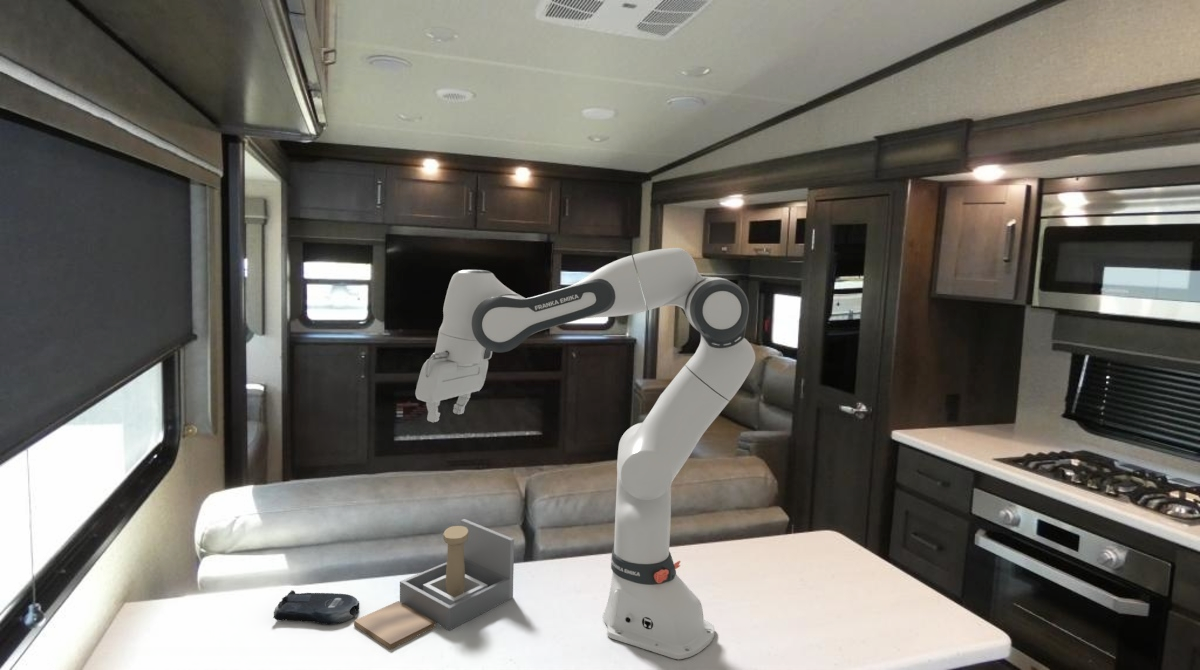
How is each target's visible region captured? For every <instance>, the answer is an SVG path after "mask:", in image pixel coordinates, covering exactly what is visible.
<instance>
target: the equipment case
mask: <svg viewBox="0 0 1200 670" xmlns="http://www.w3.org/2000/svg"><path fill="white" fill-rule="evenodd" d="M460 526H464V527H466V528H467V529H468V539H467V541H465V542H464V564H465V584H464V592H463V594H461V595H459V596H457V597H455V598H454V597H452V596H450V595H449V594H447V589H446V567H447V561H446V562H444V563H441V564H439V565H436V566H434V567H432V568H430V569H429V568H428V569H426V570H425V571H422V572H419V573H417V574H415V575H412V576H410V577H407V578H405V579H402V580H400V581H399V602H401V603H403V604H405V605H406V606H408V607H410V608H412V609H413V610H415V611H417V612H419V613H420V614H422V615H424V616H425V617H427V618H429V619H431V620H432V621H434V622H435V624H436V625H439V626H440V625H441V626H440V627H443V628H444V629H446V630H448V631H451V630H453V629H455V628H456V627H459V626H461V625H462V624H465V623H466V622H469V621H470V620H473V619H475V618H477V617H478V616H481V614H483V613H486V612H488V611H489V610H492V609H494V608H495V606H496V607H497V606H499V605H501V604H504V603H505V602H507V601H509V600H510V599H513V598H514V567H515V566H514V562H515V554H514V553H515V539H514V538H513V537H510V536H508V535H505V534H503V533H500V532H497V531H495V530H493V529H490V528H488V527H486V526H483V525H481V524H478V523H476V522H473V521H472V520H468V519H466V518H463V519H461V520H460ZM493 607H494V608H493ZM491 608H492V609H491Z"/></svg>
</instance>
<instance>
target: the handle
mask: <svg viewBox="0 0 1200 670" xmlns="http://www.w3.org/2000/svg"><path fill="white" fill-rule="evenodd" d="M442 536H443V541H444V543H445V544H447V553H446V554H447V555H446V562H447V567H446V589H447V594H449V595H450V596H452V597H454V598H455V597H457V596H459V595H461V594H463V593H464V584H465V564H464V542H465V541H467V539H468V529H467V528H466V527H464V526H461V525H452V526H449V527H448V528H446V529H445V530H444V532H443V535H442Z"/></svg>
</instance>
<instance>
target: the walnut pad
mask: <svg viewBox="0 0 1200 670" xmlns="http://www.w3.org/2000/svg"><path fill="white" fill-rule="evenodd" d="M353 623H354V624H353V625H354V626H355V627H356V628H357V629H359V630H361V632H364V633H365V634H366V635H368V636H370V637H371V638H373V639H374V640H375V641H377V642H378V643H380V644H382V645H383V646H385V647H386V648H388V649H389V650H392V649H394V648H395V647H398V646H400V645H402V644H404V643H406V642H408V641H410V640H413V639H414V638H416V637H418V636H420V635H423V634H424V633H426V632H428V631H430V630H432V629H435V628H436V623H435V622H434V621H432V620H431V619H429V618H427V617H425V616H424V615H422V614H420V613H419V612H417V611H415V610H413V609H412V608H410V607H408V606H406V605H405V604H403V603H401V602H400V600H398V601H397V600H396V601H395V602H393V603H391V604H388V605H387V606H384V607H382V608H380V609H377V610H375V611H373V612H369V613H368V614H366V615H363V616H362V617H359V618H356V619H355V620H354V621H353ZM425 631H426V632H425ZM423 632H424V633H423ZM419 634H420V635H419ZM417 635H418V636H417ZM399 644H400V645H399Z"/></svg>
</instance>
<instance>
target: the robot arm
mask: <svg viewBox="0 0 1200 670" xmlns="http://www.w3.org/2000/svg"><path fill="white" fill-rule="evenodd" d="M667 306H677V307H679V309H681V311H682V313H683V314H684V317H685V318H686V319H687V321H688V322H689V323H690V325H691V326H692V328H694V330H696V331H697V332H699V334H700V342H699V345H698V347H697V348H696V350H695V353H694V354H693V355H692V356H691V357H690V358H689V360H688V361H687V362H686V363H685V365H683V366H682V368H681V369H680V371H679V372H678V373H677V374H676V375H675V377H674V378H673V379H672V380H671V382H670V383H669V384H668V385H667V386H666V388H665V389H664V390H663V392H662V393H660V395H659V397H658V398H657V400H656V402H655V403H654V405H653V407H652V408H651V410H650V411H649V412H648V414H647V415H646V417H645V418H644V420H643V421H642V422H638V423H636V424H634V425H632V426H630V427H629V428H628V429H627V430H626V431H625V432H624V433H623V435H621V437H620V440H619V442H618V450H617V461H616V462H617V463H616V472H617V476H616V477H617V478H616V495H615V496H616V499H615V513H614V514H615V515H614V517H615V518H614V540H613V541H614V543H613V548H612V550H611V559H610V561H611V562H610V569H611V570H612V575H611V584H610V590H609V595H608V599H607V602H606V606H605V609H604V612H603V617H602V618H603V621H604V624H605V625H606V627H607V633H606V635H607V637H609V638H610V639H613V640H616V641H618V642H621V643H625V644H627V645H631V646H634V647H636V648H641V649H643V650H645V651H646V650H647V651H648V652H653V653H655V654H659V655H662V656H664V657H668V658H671V659H675V660H682V659H684V660H685V659H687V658H690V657H692V656H693V657H694V656H695V655H696V654H698V653H700V652H702V651H703V650H704V649H705V648H707V646H709V645H710V644H711V642H712V641H713V640H714V637H715V626H714V624H713V623H711V622H709V621H707V620H706V619H704V611H703V606H702V602H701V600H700V599H699V598H698V596H696V594H695V593H694V592H693V591H692V590H691V589H690V588H689V587H688V585H687V584H686V583H685V582H684V581H683V580H682V578H681V577H680V576H678V573H677V569H678V568H681V564H680V563H681V560H678V561H676V562H675V563H674V559H673V556H672V553H671V552H670V539H671V536H670V535H671V518H672V510H671V509H672V508H671V506H672V502H671V501H672V498H671V496H672V483H673V481H674V479H675V478H676V476H677V475H678V473H679V472H680V471H681V469H682V468H683V466H684V465H685V463H686V462H687V460H688V459H689V457H690V456H691V454H692V452H693V451H694V450H695V448H696V446H697V444H698V443H699V441H700V440H701V438H702V436H703V435H704V434H705V432H706V431H707V429H708V428H709V427H710V426H711V424H713V422H714V421H715V420H716V419H717V418H718V417H719V415H720V414H721V412H722V411H723V410H724V409H725V407H726V406H727V405H729V403H730V401H732V399H733V398H734V396H735V395H736V394H737V392H738V391H739V389H741V387H742V385H743V384H744V382H745V380H746V379H747V377H748V376H749V374H750V373H751V370H752V368H753V367H754V364H755V362H756V352H755V350H754V347H753V346H752V344H751V343H750V342H749V341H748V339H746V338H745V336H746V330H747V324H748V319H749V310H750V308H749V307H750V304H749V300H748V297H747V295H746V293H745V292H744V290H743V289H742V288H741V287H740V286H739V284H736V283H734V282H733V281H730V280H729V279H727V278H724V277H723V278H722V277H717V276H715V277H714V276H713V277H711V276H708V275H703V274H701V273H700V272H699V271H698V267H697V264H696V262H695V260H694V258H693V257H692V255H691V254H690V253H689V252H688V251H687V250H685V249H684V248H681V247H668V248H659V249H654V250H649V251H648V250H647V251H642V252H639V253H635V254H633V255H628V256H624V257H621V258H619V259H617V260H613V261H612V262H610V263H607V264H605V265H603V266H602V267H599V268H598V269H596V270H595V271H593V272H592V273H590V274H589V275H587V276H585V278H583V279H581V280H580V281H578V282H575V283H574V284H573V283H572V285H569V286H566V287H562V288H560V289H556V290H552V291H548V292H545V293H542V294H538V295H534V296H530V297H527V298H526V297H524V296H522V295H520V294H519V293H516V292H515V291H513V290H512V289H510V288H509V287H507V286H506V285H504V284H503V283H502V282H501V281H500V280H499V279H498V278H497V277H496V275H495V274H494V273H493V272H491V271H490V270H487V269H486V270H484V269H462V270H458V271H456V272H455V273H454V274H453V275H452V276H451V279H450V281H449V284H448V288H447V290H446V295H445V299H444V303H443V308H442V309H443V310H442V312H443V313H442V314H443V317H442V318H443V319H442V323H441V325H440V327H439V328H438V329H439V330H438V335H437V340H436V344H435V350H434V352H433V353H432V354H431V355H430V357H429V358H428V359H426V361H425V362H424V363H423V364H422V367H421V370H420V373H419V377H418V380H417V382H416V389H415V394H414V395H415V397H416V399H417V400H418V401H422V402H424V403H425V406H426V409H427V417H426V419H427V421H428V422H431V423H436V422H438V421H439V420H440V416H441V412H439V406H440V404H441V401H445V400H448V399H453V398H456V397H458V398H457V400H456V403H455V404H453V410H452V412H453V413H454V414H455V415H462V414H464V413H465V408H466V406H467V404H468V402H469V400H470V398H471V394H472V393H475V392H480V390H481V389H482V388H483V386H484V384H485V381H486V378H487V373H488V369H489V360H490V359H491V358H492V355H493V353H506V352H510V351H512V350H513V349H515V348H517V347H519V345H521V344H522V343H523V342H524V341H526V339H528V338H529V337H530V336H532V335H534V334H536V333H538V332H541V331H545V330H548V329H551V328H555V327H558V326H562V325H565V324H568V323H571V322H575V321H578V320H584V319H594V318H609V317H610V318H611V317H613V318H614V317H621V316H630V315H636V314H641V313H644V312H647V311H651V310H653V309H658V308H661V307H667Z"/></svg>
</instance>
